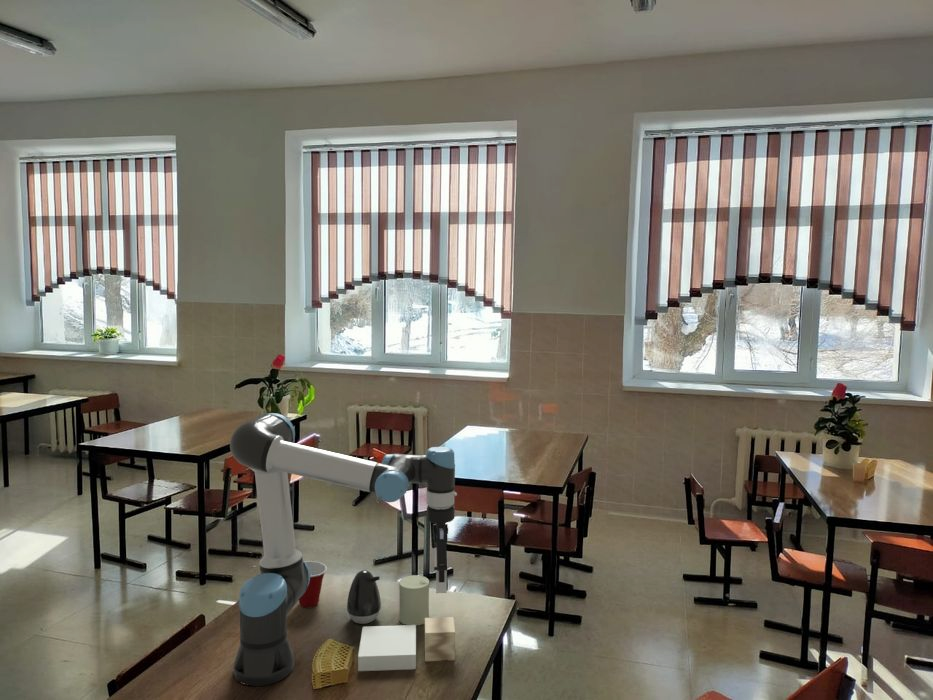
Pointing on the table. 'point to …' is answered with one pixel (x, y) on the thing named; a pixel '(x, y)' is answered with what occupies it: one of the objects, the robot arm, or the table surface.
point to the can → (414, 600)
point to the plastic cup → (313, 584)
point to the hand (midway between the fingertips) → (440, 581)
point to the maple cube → (439, 639)
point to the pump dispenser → (364, 598)
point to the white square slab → (387, 648)
